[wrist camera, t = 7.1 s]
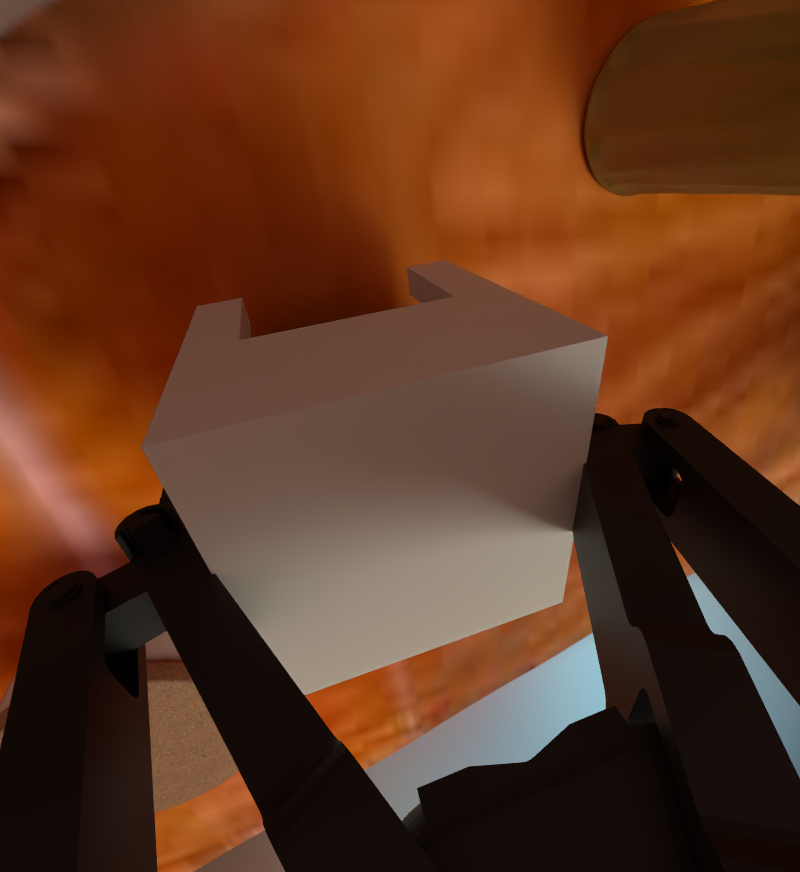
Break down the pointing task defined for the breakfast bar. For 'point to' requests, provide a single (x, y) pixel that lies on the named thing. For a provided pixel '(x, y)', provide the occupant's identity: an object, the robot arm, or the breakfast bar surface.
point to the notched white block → (382, 468)
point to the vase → (701, 103)
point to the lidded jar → (173, 730)
